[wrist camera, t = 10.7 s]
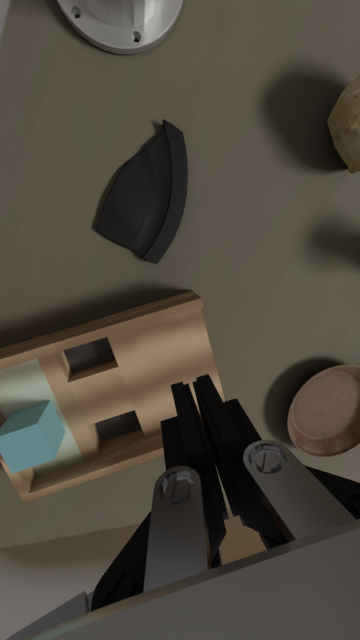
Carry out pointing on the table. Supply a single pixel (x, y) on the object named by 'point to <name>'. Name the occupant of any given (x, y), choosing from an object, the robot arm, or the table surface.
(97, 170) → the table surface
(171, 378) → the box
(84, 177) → the table surface
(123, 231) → the fan shaped piece
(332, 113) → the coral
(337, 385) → the saucer
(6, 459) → the teal block
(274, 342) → the table surface
